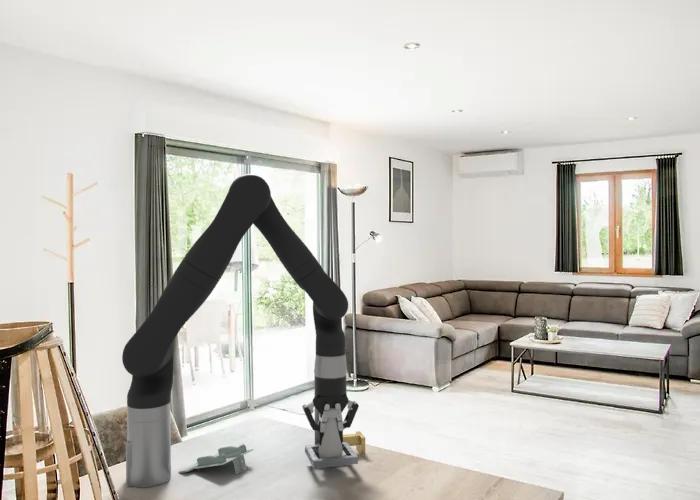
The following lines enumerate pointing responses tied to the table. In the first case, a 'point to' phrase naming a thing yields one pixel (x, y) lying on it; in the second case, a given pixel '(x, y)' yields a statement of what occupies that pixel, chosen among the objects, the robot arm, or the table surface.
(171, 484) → the table surface
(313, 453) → the square post stand
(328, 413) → the salt shaker
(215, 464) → the metal bracket
